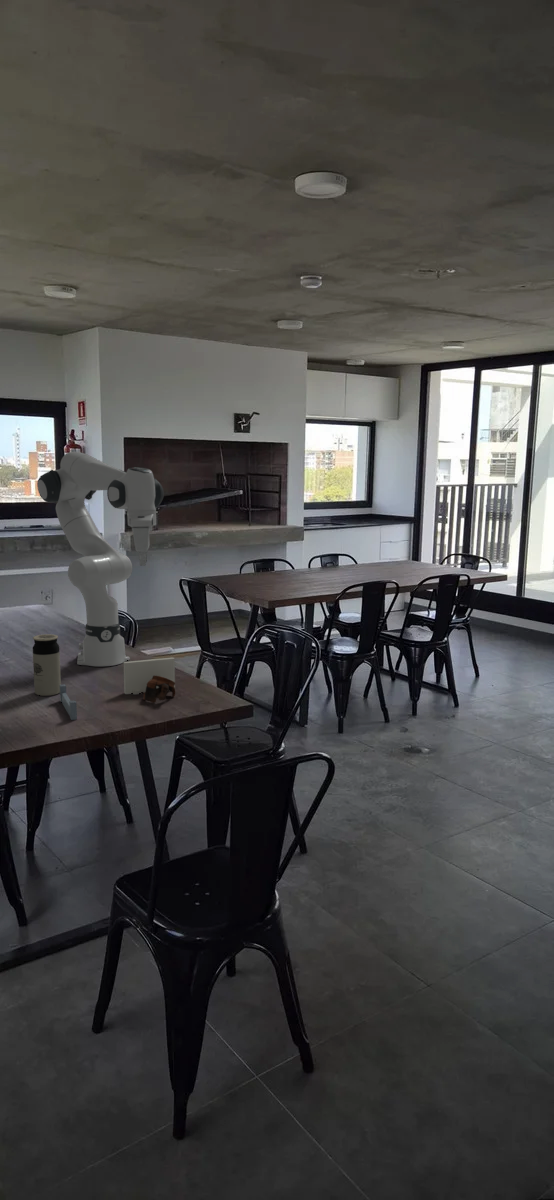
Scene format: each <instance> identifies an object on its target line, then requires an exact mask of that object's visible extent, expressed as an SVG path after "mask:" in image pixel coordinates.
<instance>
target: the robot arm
mask: <svg viewBox="0 0 554 1200" xmlns="http://www.w3.org/2000/svg"><path fill="white" fill-rule="evenodd" d="M59 466H60V468H59V469H55V470H54V469H50V470H49V471H47V472H45V473H43V474H41V475H40V476H39V478H38V480H37V483H36V484H37V485H36V486H37V491H38V494H39V496H40V498H41V499H42V500H43V501H45V503H49V504H50V503H53V504H54V503H55V504H56V505H55V512H56V516H57V520H58V521H59V525H60V527H61V529H62V531H63V532H64V535H65V536H66V537H65V538H66V539H67V541H68V542H69V545H70V547H71V549H72V550H73V551H75V552H76V553H77V554H80V555H82V557H79V558H77V559H74V560H72V561H71V562H70V564H69V566H68V568H67V577H68V579H69V581H70V583H71V584H72V585H73V586H74V587H75V588H77V589H78V590H79V592H80V594H81V595H82V598H83V599H84V600H83V601H84V604H85V614H86V616H85V617H86V624H85V636H84V639H83V640H82V642H80V643H78V650H79V651H80V652H78V653H77V662H76V663H77V664H76V665H81V666H87V667H88V666H90V667H110V666H111V667H112V666H116V665H117V666H118V665H120V664H124V662H128V661H131V660H130V659H131V657H130V656H129V655H126V648H125V647H126V645H125V638H124V637H123V636H122V635H121V625H120V623H119V605H118V602H117V600H116V599H115V598H114V597H113V596H111V595H110V594H109V592H108V589H107V586H109V585H113V584H119V583H121V582H124V581H126V580H127V579H130V577H131V575H132V572H133V564H132V561H131V559H130V558H129V557H128V555H126V554H124V553H122V552H120V551H118V550H117V549H116V548H115V547H113V546H112V545H111V544H110V543H109V542H108V541H107V540H106V539H105V538H104V537H103V535H102V534H101V533H100V531H99V529H98V527H97V525H96V523H95V522H94V520H93V518H92V516H91V513H89V511H88V509H87V507H86V504H85V499H86V500H87V501H90V500H91V499H92V498H93V495H95V493H96V492H97V491H106V492H107V493H106V494H107V495H106V496H107V500H108V502H109V504H110V505H111V506H112V507H113V508H114V509H119V510H126V512H127V526H128V527H130V528H131V531H132V535H133V542H134V543H133V544H134V548H135V551H136V552H137V553H138V557H139V558H138V559H139V566H140V567H146V564H147V562H148V558H147V557H148V550H149V548H150V532H152V531H153V527H154V526H155V527H156V526H157V508H158V507H159V506H160V505H161V503H162V501H163V499H164V495H165V491H164V488H163V485H162V484H161V482H159V481H158V480H157V478H155V476H154V473H153V471H152V470H151V469H149V468H147V467H139V466H137V467H136V466H134V467H129V468H128V469H127V470H126V471H124V470H122V469H118V468H117V467H115V466H114V465H113V466H112V465H110V464H108V463H105V462H103V461H101V460H100V459H97V458H95V457H93V456H91V455H89V454H87V453H85V452H84V453H83V452H80V451H70V452H68V453H65V454H64V455H63V456H62V457H61V460H60V463H59ZM127 660H128V661H127Z"/></svg>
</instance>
